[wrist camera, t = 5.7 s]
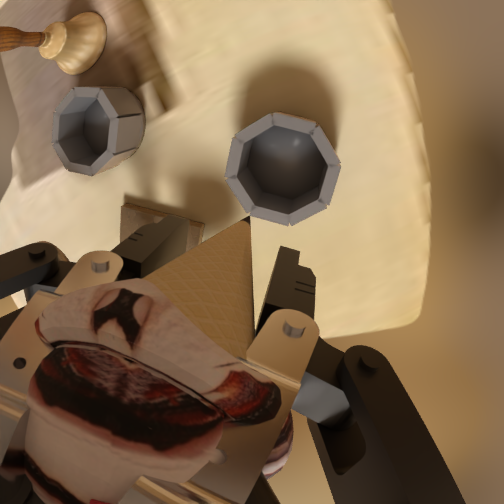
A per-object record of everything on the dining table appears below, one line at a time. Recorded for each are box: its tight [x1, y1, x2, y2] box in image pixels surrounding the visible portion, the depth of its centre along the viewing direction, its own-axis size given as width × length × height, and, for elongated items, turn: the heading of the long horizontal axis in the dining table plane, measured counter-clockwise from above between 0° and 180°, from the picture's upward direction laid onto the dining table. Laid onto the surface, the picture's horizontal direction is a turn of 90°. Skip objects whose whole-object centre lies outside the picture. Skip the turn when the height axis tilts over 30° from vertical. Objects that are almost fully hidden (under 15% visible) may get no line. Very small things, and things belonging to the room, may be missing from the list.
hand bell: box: [0, 12, 107, 75], centre depth 20 cm, size 8×8×16 cm
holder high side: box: [52, 86, 145, 176], centre depth 29 cm, size 9×9×6 cm
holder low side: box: [225, 112, 341, 226], centre depth 28 cm, size 9×9×6 cm
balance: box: [37, 203, 204, 262], centre depth 30 cm, size 8×21×15 cm, turn 78°
